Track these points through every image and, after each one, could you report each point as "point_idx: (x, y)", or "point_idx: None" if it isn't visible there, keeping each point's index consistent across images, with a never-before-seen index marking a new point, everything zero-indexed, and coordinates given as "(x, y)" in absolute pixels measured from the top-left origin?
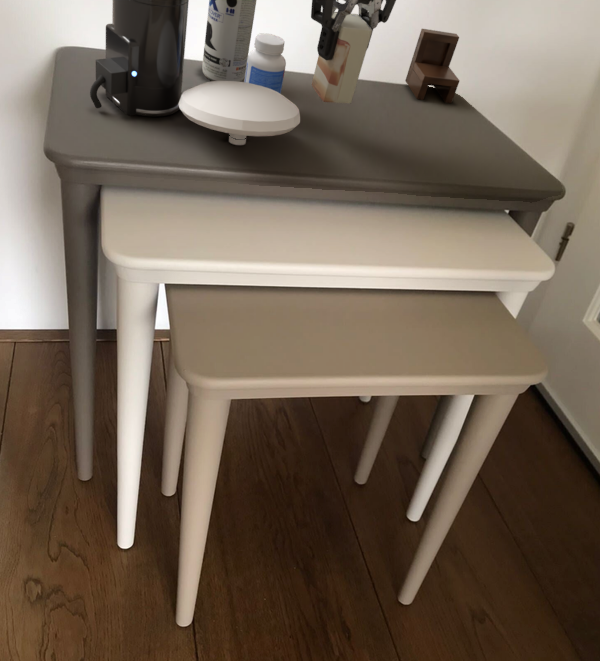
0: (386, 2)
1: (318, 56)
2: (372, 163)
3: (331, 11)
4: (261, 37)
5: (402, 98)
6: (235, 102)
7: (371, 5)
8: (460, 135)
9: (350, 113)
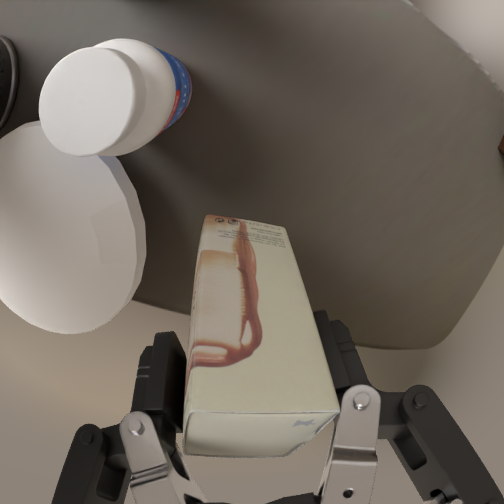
0: (409, 469)
1: (199, 265)
2: None
3: (124, 488)
4: (55, 94)
5: (483, 135)
6: (12, 302)
7: (318, 494)
8: (461, 253)
9: (359, 147)
